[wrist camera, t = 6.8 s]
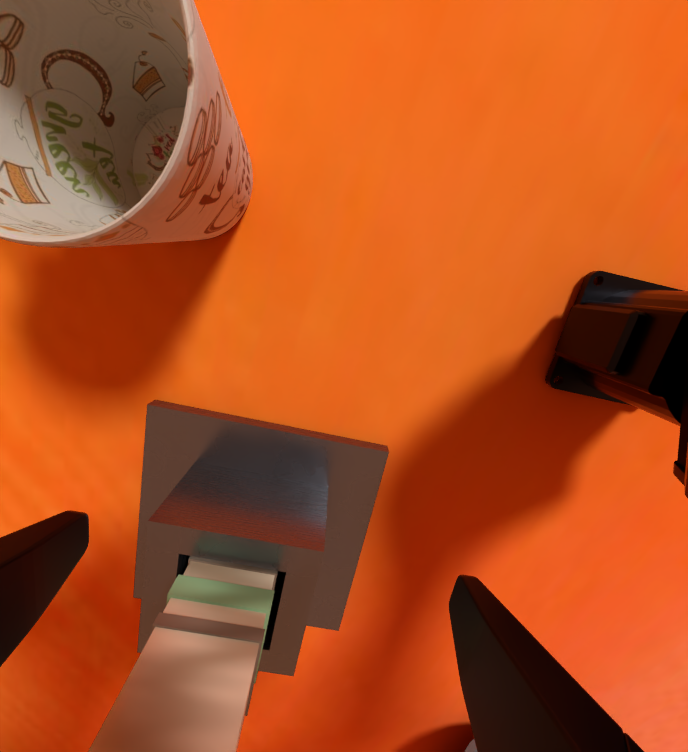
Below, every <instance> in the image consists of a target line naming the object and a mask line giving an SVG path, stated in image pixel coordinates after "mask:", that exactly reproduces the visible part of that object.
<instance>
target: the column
mask: <svg viewBox="0 0 688 752" xmlns="http://www.w3.org/2000/svg"><path fill="white" fill-rule="evenodd" d="M277 573H278V571H276V570H271V569H265V568H259V567H253V566H247V565H241V564H236V563H230V562H224V561H218V560H212V559H206V558H201V557H195V556H190V557H189V560H188V567H187V568H186V570H185V572H184V574H183V575H179V574H178V576H177V578H176V580H175V582H174V583H173V585H172V587H171V589H170V591H169V592H168V594H167V603H166V608H165V609H164V611H163V613H161V612H159V614H158V616H157V617H156V619H155V621H154V623H153V626H152V634H151V635H150V637H149V639H148V641H147V643H146V645H145V647H144V649H143V650H142V652H141V654H140V656H139V658H138V660H137V662H136V663H135V665H134V667H133V669H132V671H131V673H130V675H129V676H128V678H127V680H126V682H125V684H124V686H123V688H122V689H121V691H120V693H119V695H118V697H117V699H116V701H115V703H114V704H113V706H112V708H111V710H110V712H109V714H108V716H107V717H106V719H105V721H104V723H103V725H102V727H101V729H100V730H99V732H98V734H97V736H96V738H95V740H94V742H93V743H92V745H91V747H90V749H89V751H88V752H237V748H238V743H239V739H240V734H241V730H242V725H243V721H244V716H247V714H248V709H249V705H250V700H251V695H252V690H253V685H254V683H255V682H256V678H257V673H258V668H259V664H260V659H261V654H262V649H263V644H264V640H265V635H266V630H267V625H268V621H269V616H270V611H271V606H272V601H273V597H274V592H275V591H274V588H275V583H276V578H277Z"/></svg>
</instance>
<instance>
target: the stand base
mask: <svg viewBox="0 0 688 752" xmlns="http://www.w3.org/2000/svg"><path fill="white" fill-rule="evenodd" d="M388 453H389V451H388V447H387V446H385V445H380V444H375V443H370V442H365V441H360V440H355V439H350V438H345V437H339V436H334V435H329V434H324V433H319V432H314V431H309V430H304V429H299V428H294V427H289V426H284V425H279V424H274V423H269V422H264V421H259V420H254V419H249V418H244V417H239V416H234V415H229V414H224V413H219V412H214V411H209V410H204V409H199V408H194V407H189V406H184V405H179V404H174V403H169V402H164V401H159V400H154V401H152V402H151V403H149V404H147V417H146V431H145V444H144V458H143V472H142V486H141V500H140V513H139V527H138V541H137V555H136V569H135V583H134V596H133V597H134V598H140V599H142V601H141V613H140V626H139V638H138V651H137V652H139V653H141V652H142V650H143V649H144V647H145V645H146V643H147V641H148V639H149V637H150V635H151V634H152V626H153V623H154V621H155V619H156V617H157V616H158V614H159V612H161V613H163V611H164V609H165V608H166V603H167V594H168V592H169V591H170V589H171V587H172V585H173V583H174V582H175V580H176V578H177V576H178V574H179V575H183V574H184V572H185V570H186V568H187V567H188V560H189V557H190V556H195V557H201V558H206V559H212V560H218V561H224V562H230V563H236V564H241V565H247V566H253V567H259V568H265V569H271V570H276V571H278V573H277V578H276V583H275V588H274V591H275V592H274V597H273V601H272V606H271V611H270V616H269V621H268V625H267V630H266V635H265V640H264V644H263V649H262V654H261V659H260V664H259V668H258V671H263V672H270V673H276V674H283V675H289V676H294V672H295V668H296V664H297V659H298V655H299V651H300V647H301V643H302V639H303V635H304V631H305V627H306V625H307V626H313V627H319V628H325V629H331V630H337V631H339V627H340V624H341V620H342V617H343V613H344V609H345V606H346V602H347V599H348V595H349V592H350V588H351V585H352V581H353V578H354V574H355V570H356V567H357V563H358V560H359V556H360V553H361V549H362V546H363V542H364V539H365V535H366V531H367V528H368V524H369V521H370V517H371V514H372V510H373V507H374V503H375V499H376V496H377V492H378V489H379V485H380V482H381V478H382V475H383V471H384V468H385V464H386V460H387V457H388Z"/></svg>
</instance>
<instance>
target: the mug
mask: <svg viewBox="0 0 688 752" xmlns="http://www.w3.org/2000/svg"><path fill="white" fill-rule="evenodd" d="M252 185H253V174H252V165H251V160H250V156H249V153H248V149H247V146H246V144H245V141H244V138H243V135H242V133H241V130H240V127H239V124H238V122H237V119H236V116H235V113H234V111H233V108H232V105H231V102H230V100H229V97H228V94H227V91H226V88H225V86H224V83H223V80H222V77H221V75H220V72H219V69H218V66H217V64H216V61H215V58H214V55H213V53H212V50H211V47H210V44H209V42H208V39H207V36H206V33H205V30H204V28H203V25H202V22H201V19H200V17H199V14H198V11H197V8H196V6H195V3H194V0H0V238H1V239H4V240H7V241H12V242H16V243H20V244H26V245H33V246H41V247H58V248H80V247H98V246H113V245H129V244H145V243H161V242H177V241H193V240H204V239H209V238H213V237H216V236H218V235H221V234H223V233H225V232H226V231H228V230H229V229H230V228H232V227H233V226H234V225H235V224H236V223H237V222H238V221H239V219H240V218H241V217H242V215H243V214H244V212H245V210H246V208H247V206H248V203H249V200H250V197H251V192H252Z"/></svg>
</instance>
